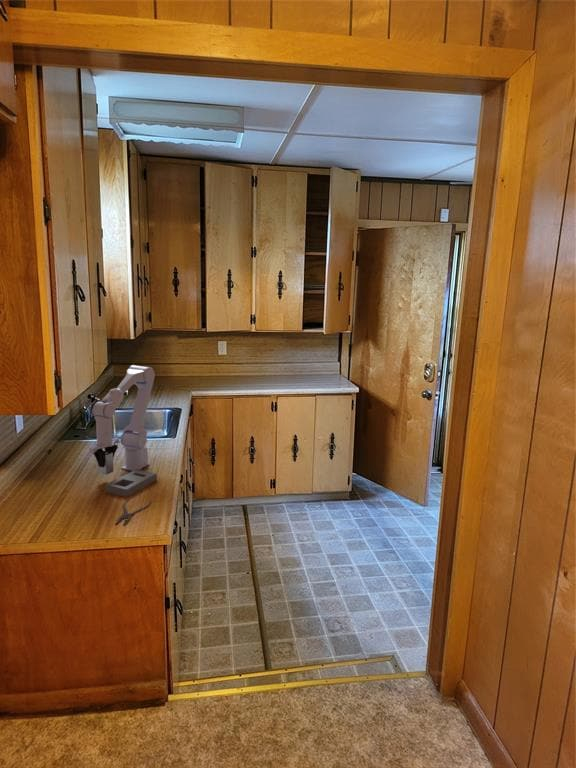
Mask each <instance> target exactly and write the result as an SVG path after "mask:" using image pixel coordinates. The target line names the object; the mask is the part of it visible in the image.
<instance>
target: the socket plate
mask: <svg viewBox="0 0 576 768" xmlns="http://www.w3.org/2000/svg"><path fill="white" fill-rule="evenodd" d="M157 477H158V474H157V472H154V471H153V472H152V471H147V470H142V469H140V470H139V469H136V470H134V471H130V472H128V473H126V474H124V475H121V476H120V477H118V478H116V479H114V480H112V481H109V482H108V483H107V484H104V487H105V493H108V494H112V495H117V496H120V497H124V498H128V497H130V496H132V495H134V494H135V493H137V492H139V491H140V489H141V490H142V489H144V488H146V487H147V485H148V484H149V485H151V484H153V483H155V482H156V481H158V478H157ZM155 480H156V481H155ZM154 481H155V482H154ZM152 482H153V483H152ZM150 483H151V484H150ZM149 485H148V486H149ZM145 486H146V487H145ZM143 487H144V488H143ZM138 490H139V491H138ZM133 493H134V494H133Z"/></svg>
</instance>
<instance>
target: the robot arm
mask: <svg viewBox="0 0 576 768" xmlns="http://www.w3.org/2000/svg"><path fill="white" fill-rule="evenodd" d="M155 376H156V373H155V371H154V368H153V367H151V366H142V365H135V364H132V365H130V366H129V367H128V369H126V375H125V377H124V378H123V379H122V380H121V382H120V383H119V385H117V387H116V388H111V389H110V390H109V391H108V393H107V394H106V395H105V396H104V397H103V398H102V399H101V401H97V402H95V403H94V404H93V406H92V409H91V414H92V415H93V416H94V420H95V425H96V428H95V429H96V443H94V444H93V445H92V446H90V447H89V448H88V451H89V453H91V454H93V455H94V457H95V459H96V462H97V466H98V465H99V467H104V464H105V455H106V451H108V452H113V459H114V457H115V455H116V452H117V450H118V448H119V447H118V444H119V443H120V444H121V445H122V446H123V448H124V459H125V460H124V461H125V465H123V466H121V467H120V469H121V470H127V471H130V472H132V471H134V470H136V469H139V470H142V469H143V467H144V468H146V467H148V466H149V465H150V463H149V461H148V459H149V457H148V456H149V453H148V452H149V451H148V448H147V447H146V445H147V441H148V439H147V435H148V432H147V430H146V429H145V428H144V424H145V419H146V416H147V415H146V414H147V410H148V406H149V402H150V397H151V392H152V388H153V386H154V381H155V378H156V377H155ZM133 385H136V387H137V392H136V397H135V402H134V406H133V410H132V414H131V415H132V416H131V418H130V423H129V424H128V425H126V426H125V427H124V428H123V431H122V433H121V435H120V437H116V436H115V437H113V422H112V421H113V420H112V417H114V414H115V411H116V409H117V406H118V405H119V404H120V402H122V400H123V399H124V397H125V395H124V394H125V393H126V392H127V391H128V390H129V389H130V388H131V387H132V386H133ZM147 465H148V466H147ZM145 466H146V467H145Z"/></svg>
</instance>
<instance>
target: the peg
mask: <svg viewBox="0 0 576 768" xmlns="http://www.w3.org/2000/svg"><path fill="white" fill-rule="evenodd" d="M97 467H98V468H97V471H98V474H100V475H103V476H104V475H105V476H107V475H110V474H111V473H114V458H113V452H108V451H106V455H105V464H104V467H99V465H98V464H97Z"/></svg>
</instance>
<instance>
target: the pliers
mask: <svg viewBox="0 0 576 768" xmlns="http://www.w3.org/2000/svg"><path fill="white" fill-rule="evenodd" d="M130 500H131V499H130V498H129V499H127V500H125V501H124V503H123V504H122V508H123V513H122V514H121V515H120V516H119V517H118V519H117V520H116V521H115V526H117V525H119V523H120V522H122V520H124V521H123V524H122V526H123V527H124V526H126V525H128V523H130V522H131V520H130V519H132V517H133V516H134V515H135V513H136V514H138V513H139V512H141V511H143V509H144V510H145V509H148V507H150V506H151V504H152V503H153V501H152V500H151V499H150V501H149V503H148V504H146V505H145V506H143V507H141V508H139V509H137V510H134V511H133V512H131V513H130V512H129V513H128V509H127V508H126V504H127V503H129V501H130ZM151 502H152V503H151ZM149 505H150V506H149ZM126 519H127V520H126ZM129 521H130V522H129Z"/></svg>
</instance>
